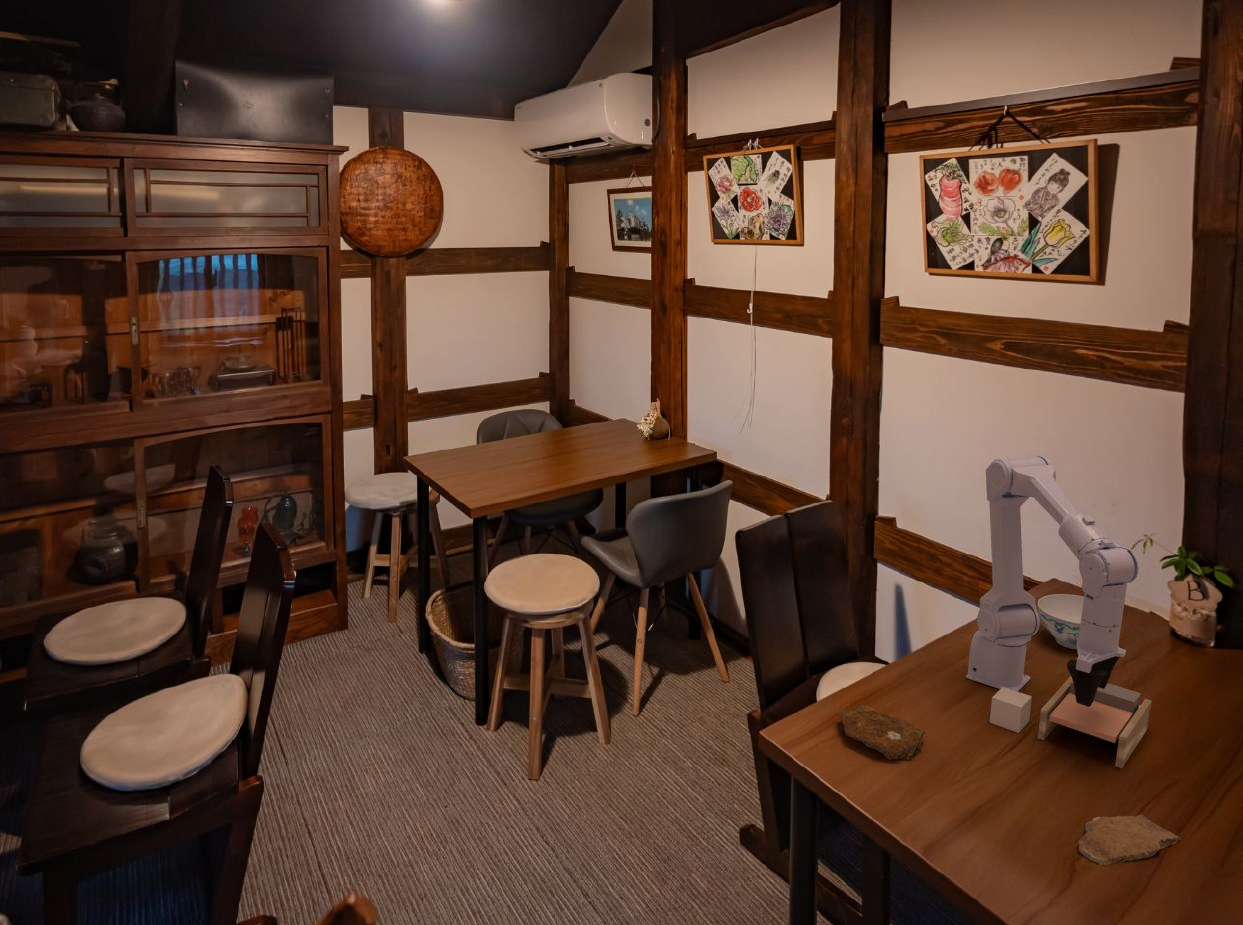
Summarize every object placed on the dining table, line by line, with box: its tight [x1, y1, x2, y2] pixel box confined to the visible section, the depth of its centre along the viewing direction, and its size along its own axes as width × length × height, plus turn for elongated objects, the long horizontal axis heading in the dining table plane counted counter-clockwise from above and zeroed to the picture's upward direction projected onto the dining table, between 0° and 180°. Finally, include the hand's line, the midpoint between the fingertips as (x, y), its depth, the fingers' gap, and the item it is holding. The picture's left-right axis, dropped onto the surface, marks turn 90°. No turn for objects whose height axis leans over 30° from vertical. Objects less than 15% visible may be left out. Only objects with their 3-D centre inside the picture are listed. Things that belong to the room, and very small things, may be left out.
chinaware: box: [1037, 593, 1084, 650], centre depth 182 cm, size 15×15×8 cm
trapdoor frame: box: [1037, 675, 1152, 769], centre depth 149 cm, size 13×16×6 cm
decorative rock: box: [838, 704, 926, 761], centre depth 149 cm, size 11×4×15 cm
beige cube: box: [989, 687, 1033, 734], centre depth 153 cm, size 5×5×5 cm
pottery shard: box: [1077, 814, 1181, 866], centre depth 124 cm, size 8×3×15 cm
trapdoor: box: [1049, 681, 1142, 744], centre depth 148 cm, size 10×14×3 cm
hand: (1091, 695), depth 144 cm, fingers open, 7 cm apart
